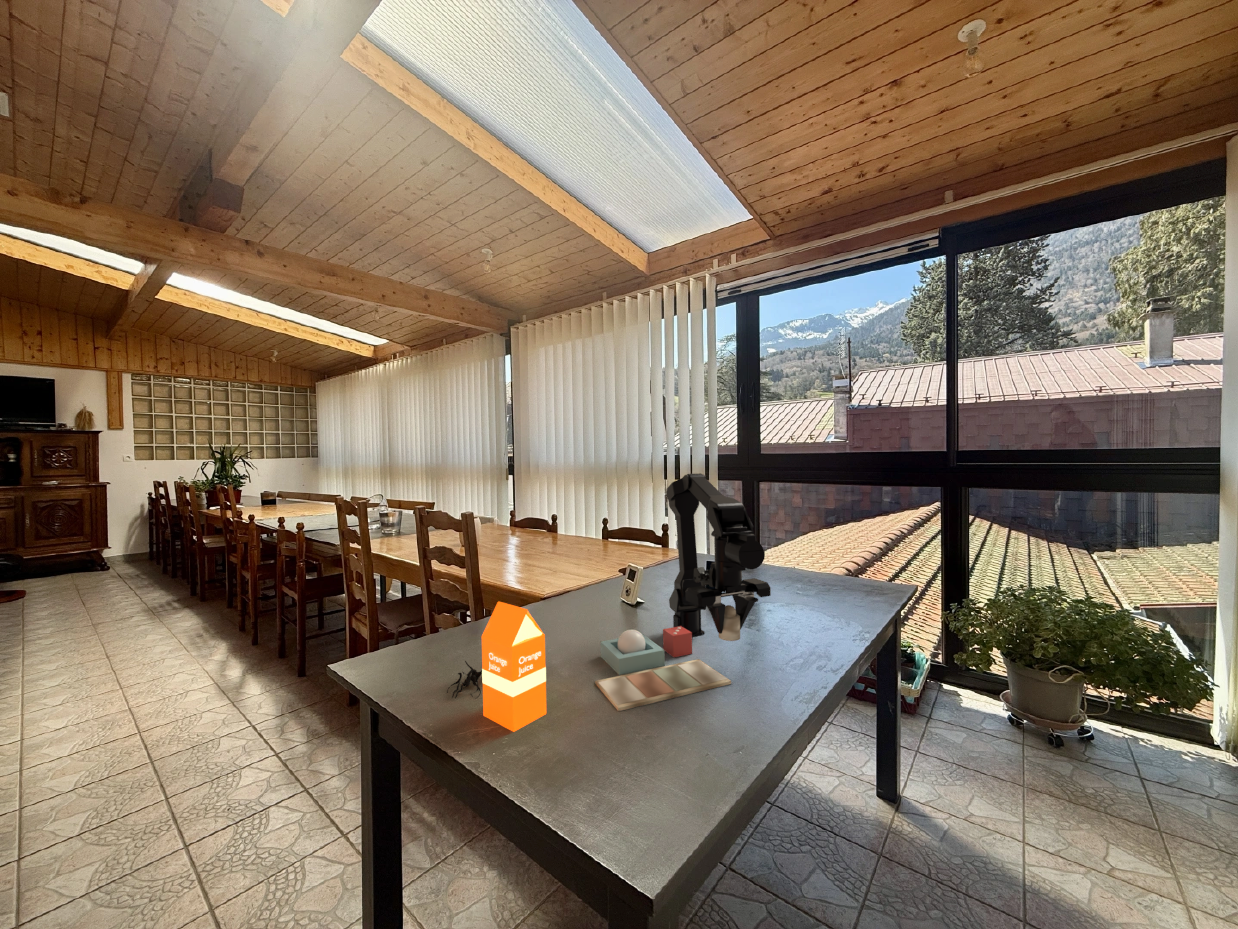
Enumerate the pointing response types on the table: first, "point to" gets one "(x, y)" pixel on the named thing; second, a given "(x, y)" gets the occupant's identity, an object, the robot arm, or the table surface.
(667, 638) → the red die
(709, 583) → the robot arm
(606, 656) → the housing
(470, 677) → the creature
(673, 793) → the table surface
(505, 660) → the orange juice
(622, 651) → the white ball
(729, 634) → the pawn
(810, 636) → the table surface
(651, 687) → the game board
